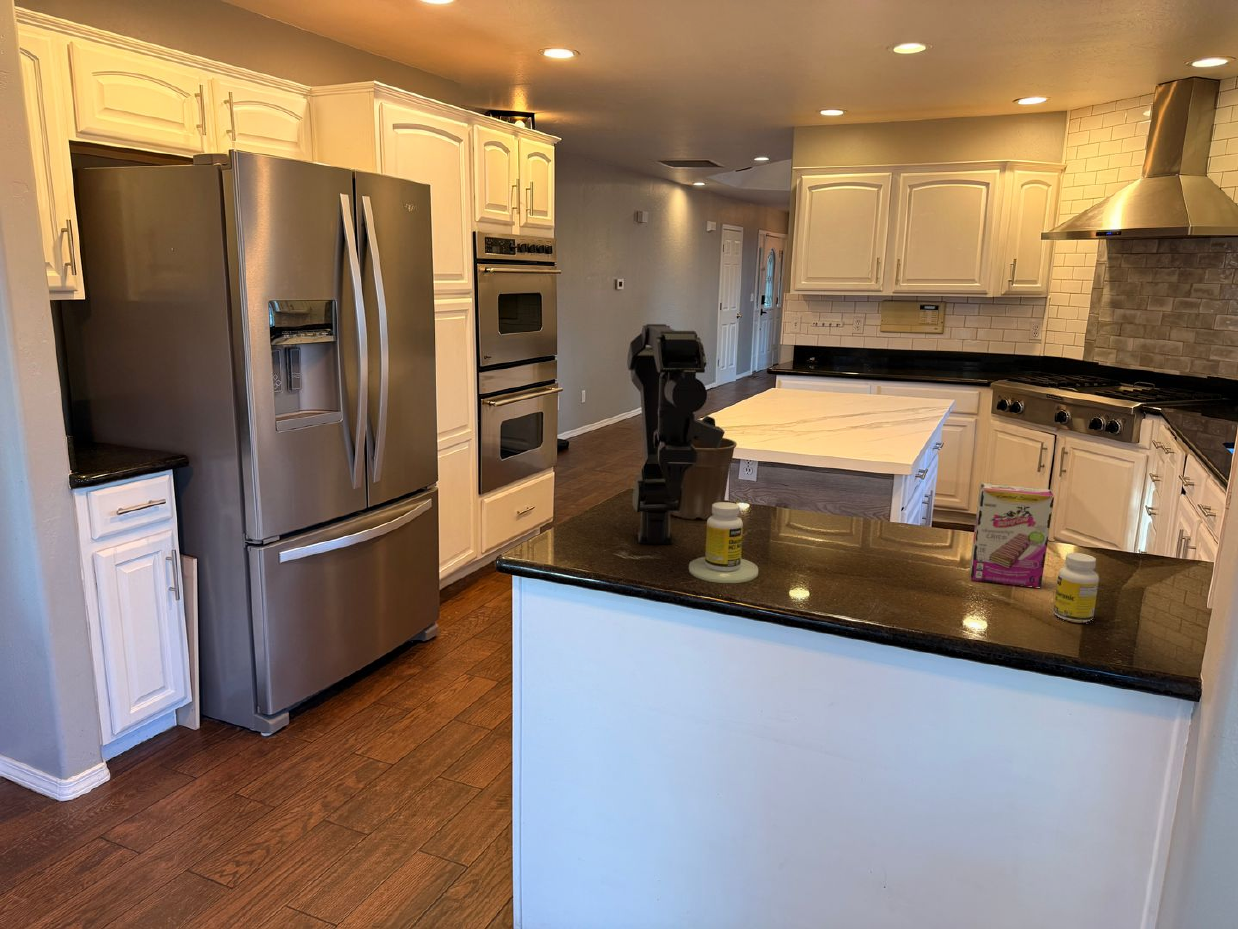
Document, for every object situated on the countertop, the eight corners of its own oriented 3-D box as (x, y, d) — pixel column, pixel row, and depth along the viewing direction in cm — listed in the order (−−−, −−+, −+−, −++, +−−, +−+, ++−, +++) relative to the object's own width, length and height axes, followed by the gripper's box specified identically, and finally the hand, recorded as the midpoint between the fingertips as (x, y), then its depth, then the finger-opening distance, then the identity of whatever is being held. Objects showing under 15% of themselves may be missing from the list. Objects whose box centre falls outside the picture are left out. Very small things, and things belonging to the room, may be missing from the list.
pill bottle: (731, 575, 141) (734, 512, 139) (698, 568, 144) (701, 506, 142) (746, 565, 146) (749, 504, 144) (714, 558, 149) (717, 499, 147)
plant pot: (745, 511, 185) (749, 439, 181) (712, 527, 171) (716, 451, 168) (680, 500, 193) (683, 431, 190) (645, 515, 180) (647, 441, 176)
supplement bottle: (1045, 611, 130) (1053, 551, 128) (1078, 610, 130) (1086, 550, 128) (1066, 625, 124) (1075, 562, 122) (1100, 624, 125) (1110, 562, 123)
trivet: (685, 559, 151) (686, 555, 151) (751, 560, 151) (752, 556, 151) (692, 582, 139) (692, 578, 139) (763, 583, 139) (763, 579, 139)
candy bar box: (970, 581, 142) (980, 488, 139) (968, 572, 147) (978, 482, 143) (1042, 590, 139) (1055, 495, 135) (1038, 580, 143) (1050, 488, 140)
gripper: (729, 413, 134) (725, 507, 137) (715, 398, 152) (711, 481, 155) (660, 412, 134) (657, 506, 137) (654, 397, 152) (652, 480, 155)
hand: (672, 492), depth 146 cm, fingers open, 9 cm apart
